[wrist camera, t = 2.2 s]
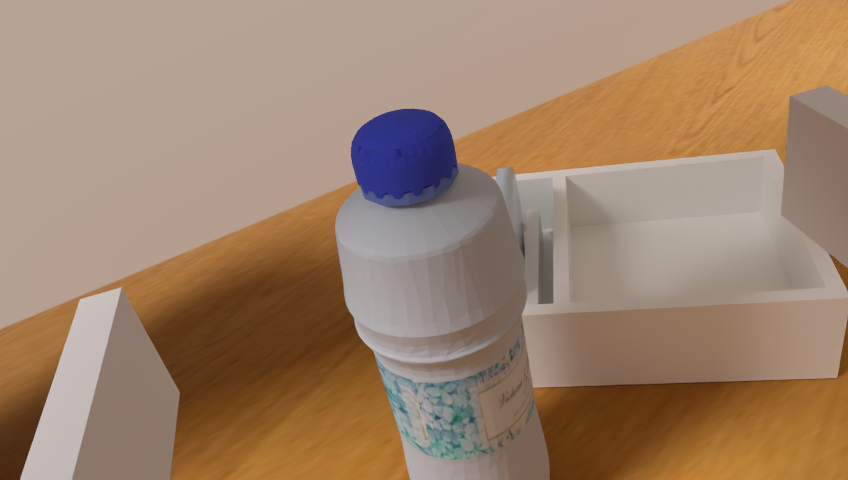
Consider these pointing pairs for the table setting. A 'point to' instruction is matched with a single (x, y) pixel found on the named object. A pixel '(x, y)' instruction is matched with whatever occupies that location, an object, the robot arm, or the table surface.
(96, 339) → the robot arm
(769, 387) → the table surface
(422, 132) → the bottle
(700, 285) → the divided tray
